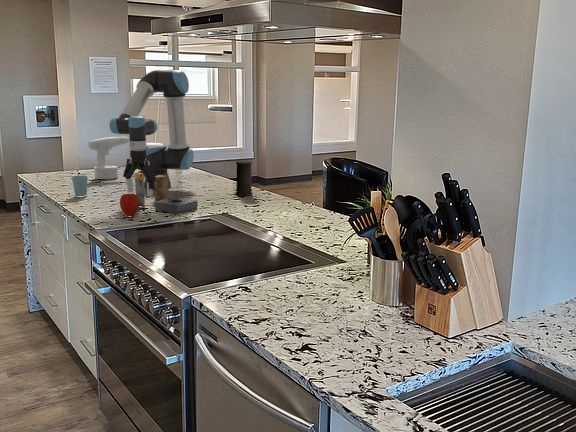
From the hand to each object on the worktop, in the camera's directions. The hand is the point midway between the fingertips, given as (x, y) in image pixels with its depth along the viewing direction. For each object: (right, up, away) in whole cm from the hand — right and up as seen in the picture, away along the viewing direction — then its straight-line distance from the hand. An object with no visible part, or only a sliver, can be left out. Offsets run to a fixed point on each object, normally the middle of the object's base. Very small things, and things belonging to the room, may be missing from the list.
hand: (140, 193), depth 274 cm
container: (+47, +1, +33) cm, 58 cm away
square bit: (+6, -2, +18) cm, 19 cm away
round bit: (0, -6, +2) cm, 6 cm away
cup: (-36, -1, +21) cm, 42 cm away
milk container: (-18, +18, +100) cm, 103 cm away
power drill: (-37, +12, +74) cm, 84 cm away
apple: (0, -11, -19) cm, 22 cm away
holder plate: (+18, -8, -3) cm, 20 cm away
